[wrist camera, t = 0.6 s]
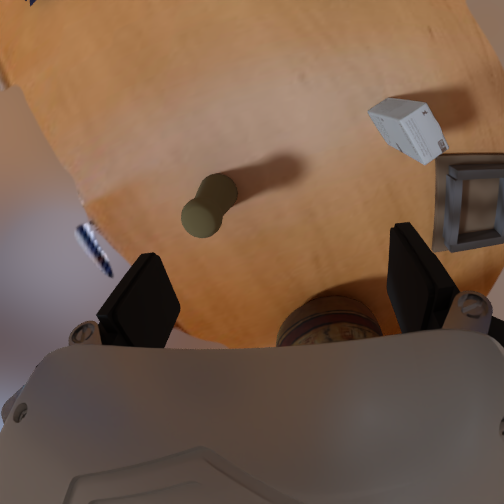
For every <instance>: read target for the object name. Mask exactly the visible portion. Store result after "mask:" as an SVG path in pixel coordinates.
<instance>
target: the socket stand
mask: <svg viewBox="0 0 504 504" xmlns="http://www.w3.org/2000/svg"><path fill="white" fill-rule="evenodd" d="M435 160H436V194H435V216H434V230H433V241H432V251H433V252H440V251H447V250H449V251H450V252H451V253H452V252H458V251H464V250H470V249H476V248H481V247H487V246H492V245H497V244H503V243H504V154H443V155H439V156H437V157H436V158H435Z"/></svg>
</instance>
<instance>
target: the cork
mask: <svg viewBox="0 0 504 504" xmlns="http://www.w3.org/2000/svg"><path fill="white" fill-rule="evenodd" d="M237 195H238V193H237V187H236V185H235V183H234V182H233V181H232V180H231V179H230V178H229V177H227V176H225V175H222V174H212V175H210V176H207V177H206V178H205V179H204V180H203V181H202V183H201V185H200V187H199V189H198V191H197V194H196V196H195V198H194V199H192V200H190V201H189V202H188V203H187V204H186V205H185V206H184V208H183V210H182V214H181V221H182V225H183V226H184V228H185V230H186V231H187V232H188V233H189V234H191V235H192V236H194V237H198V238H207V237H210V236H212V235H214V234H215V233H216V232H217V231H218V230H219V228H220V226H221V224H222V219H223V217H222V216H223V215H224V214H225V213H226V212H227V211H228V210H229V209H230V208H231V207H232V206H233V205H234V203H235V201H236V200H237Z"/></svg>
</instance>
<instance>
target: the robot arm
mask: <svg viewBox="0 0 504 504" xmlns="http://www.w3.org/2000/svg"><path fill="white" fill-rule="evenodd" d="M387 293H388V296H389V298H390V301H391V304H392V306H393V309H394V312H395V315H396V317H397V320H398V323H399V326H400V329H401V332H402V334H395V335H387V336H381V337H374V338H366V339H359V340H350V341H342V342H332V343H322V344H311V345H299V346H285V347H268V348H244V349H170V348H164V347H165V345H166V342H167V340H168V338H169V335H170V333H171V331H172V329H173V326H174V324H175V322H176V319H177V317H178V315H179V313H180V303H179V301H178V299H177V296H176V294H175V292H174V290H173V287H172V285H171V282H170V280H169V278H168V275H167V273H166V270H165V268H164V266H163V263H162V261H161V258H160V257H159V256H158V255H156V254H155V253H154V252H152V253H145V254H141V255H140V256H139V257H138V259H137V260H136V261H135V262H134V264H133V265H132V266H131V268H130V269H129V271H128V272H127V273H126V274H125V276H124V277H123V278H122V280H121V281H120V283H119V284H118V285H117V286H116V288H115V289H114V290H113V292H112V293H111V295H110V296H109V297H108V299H107V300H106V302H105V303H104V304H103V306H102V307H101V309H100V310H99V312H98V313H97V314H96V316H97V317H98V319H99V321H100V322H99V324H97V323H96V322H95V321H86V322H83V323H81V324H80V325H78V326H77V327H76V328H74V329H73V331H72V332H71V334H70V336H69V346H67V347H63V348H60V349H57V350H55V351H53V352H51V353H49V354H47V355H46V356H45V357H44V358H43V360H42V361H41V362H40V363H39V364H38V365H37V366H36V368H35V370H34V372H33V373H32V375H31V376H30V378H29V379H28V381H27V382H26V384H25V385H24V386H23V387H22V388H21V389H20V390H18V391H17V392H16V393H15V394H14V395H13V396H12V397H11V398H10V399H9V400H7V401H6V403H5V404H4V406H3V408H2V411H1V415H2V419H3V422H4V426H3V428H2V430H1V432H0V504H504V321H502V320H500V319H497V318H496V317H493V316H492V313H493V310H492V305H491V302H490V301H489V300H488V298H486V297H485V296H484V295H483V294H480V293H478V292H475V291H463V292H460V291H459V289H458V288H457V286H456V285H455V283H454V282H453V280H452V279H451V277H450V275H449V274H448V272H447V271H446V270H445V268H444V267H443V265H442V264H441V262H440V261H439V259H438V258H437V256H436V255H435V254H434V253H432V251H431V250H430V249H429V247H428V246H427V245H426V243H425V242H424V240H423V239H422V238H421V236H420V235H419V234H418V232H417V231H416V230H415V229H414V227H413V226H412V225H411V223H410V222H405V223H396V224H395V226H394V228H391V229H390V246H389V263H388V276H387Z"/></svg>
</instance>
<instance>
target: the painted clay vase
mask: <svg viewBox="0 0 504 504" xmlns="http://www.w3.org/2000/svg"><path fill="white" fill-rule="evenodd" d="M381 336H383V335H382V331H381V329H380V326H379V324H378V322H377V320H376V318H375V316H374V315H373V314H372V312H371V311H370V310H369V308H367V307H366V306H365V305H364V304H362V303H361V302H359V301H357V300H354V299H350V298H347V297H341V296H329V297H322V298H318V299H315V300H312V301H310V302H308V303H306V304H305V305H303V306H301V307H299V308H297V309H296V310H295V311H294V312H292V313H291V314H290V315H289V316H288V317H287V318H286V320H285V321H284V322H283V324H282V325H281V327H280V330H279V332H278V335H277V341H276V347H285V346H299V345H311V344H322V343H332V342H342V341H350V340H359V339H366V338H374V337H381Z"/></svg>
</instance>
